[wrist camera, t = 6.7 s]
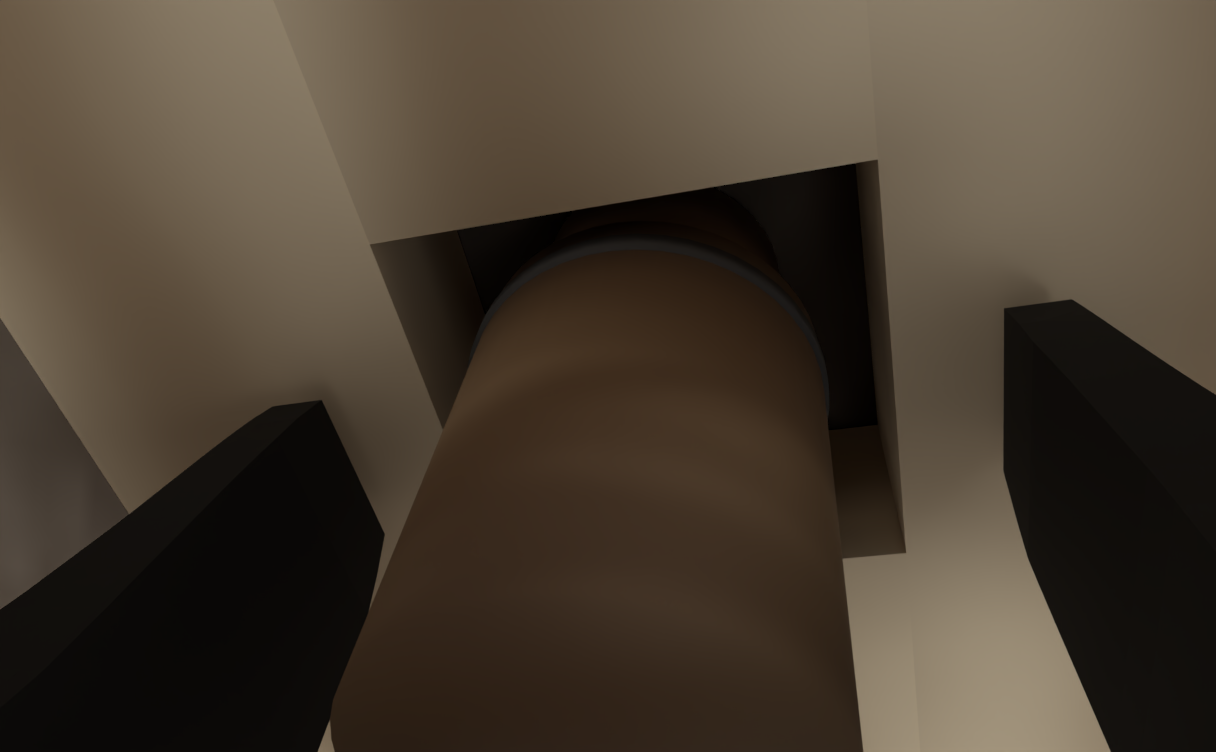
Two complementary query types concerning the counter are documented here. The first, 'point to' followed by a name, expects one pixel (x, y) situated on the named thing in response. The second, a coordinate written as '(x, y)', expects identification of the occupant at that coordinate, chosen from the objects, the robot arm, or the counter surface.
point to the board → (600, 175)
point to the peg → (622, 514)
